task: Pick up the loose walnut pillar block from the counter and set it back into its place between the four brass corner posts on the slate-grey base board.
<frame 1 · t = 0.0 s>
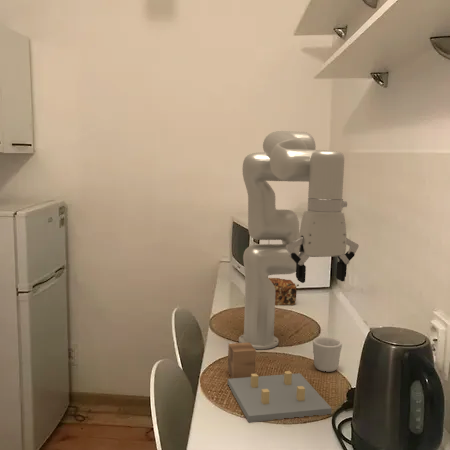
hand: (320, 280, 121), 31 cm above the breakfast bar, tool pointing down, fingers open, 9 cm apart
base board: (276, 398, 131), on the breakfast bar
bread: (271, 302, 216), on the breakfast bar
cup: (328, 367, 151), on the breakfast bar
walnut block: (241, 375, 144), on the breakfast bar
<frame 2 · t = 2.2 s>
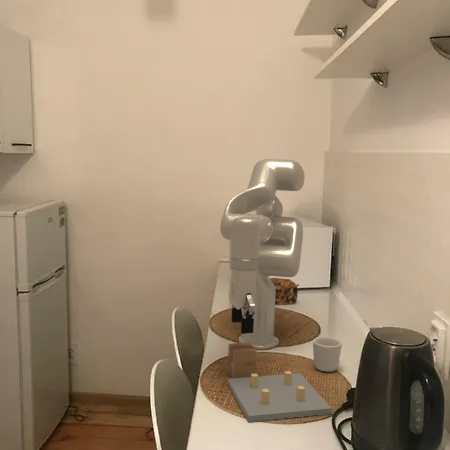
hand: (242, 327, 141), 14 cm above the breakfast bar, tool pointing down, fingers open, 9 cm apart
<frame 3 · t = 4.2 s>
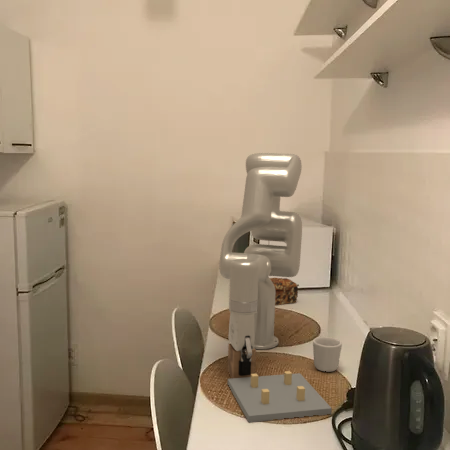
hand: (241, 369, 144), 2 cm above the breakfast bar, tool pointing down, fingers closed on walnut block, 6 cm apart
walnut block: (241, 375, 144), on the breakfast bar, touching gripper
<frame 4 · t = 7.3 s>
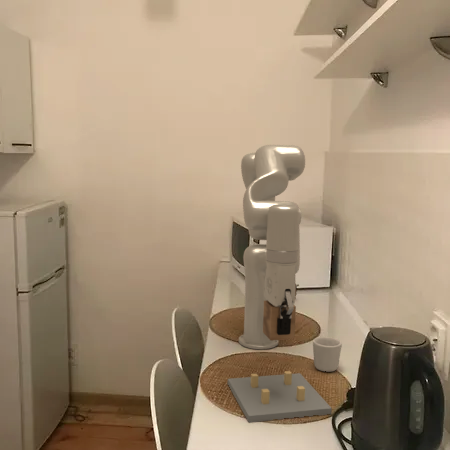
hand: (278, 329, 128), 18 cm above the breakfast bar, tool pointing down, fingers closed on walnut block, 6 cm apart
walnut block: (278, 335, 129), point 16 cm above the breakfast bar, touching gripper
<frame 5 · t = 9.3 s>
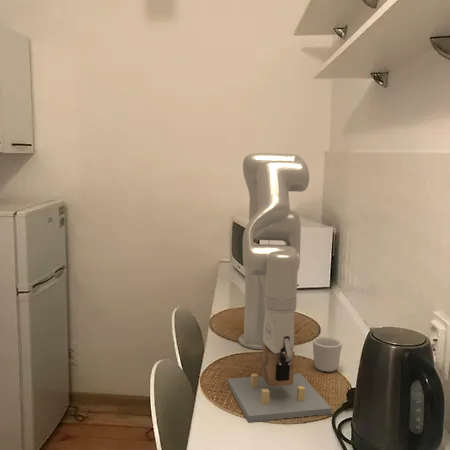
hand: (277, 373, 130), 6 cm above the breakfast bar, tool pointing down, fingers closed on walnut block, 6 cm apart
walnut block: (277, 380, 130), point 5 cm above the breakfast bar, touching gripper
when the fingers open (4 cm above the breakfast bar, at t = 10.7 s): walnut block stays where it is, resting on base board.
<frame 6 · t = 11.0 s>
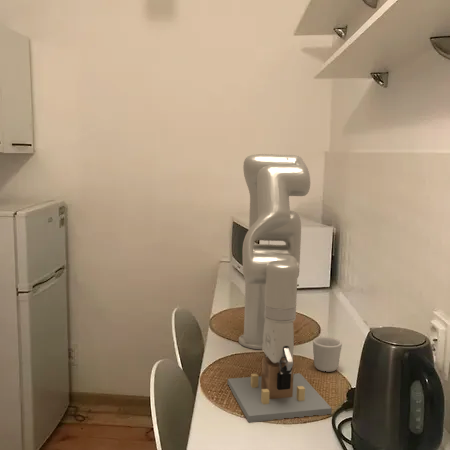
hand: (277, 380, 130), 5 cm above the breakfast bar, tool pointing down, fingers open, 8 cm apart
walnut block: (276, 392, 131), point 1 cm above the breakfast bar, touching base board
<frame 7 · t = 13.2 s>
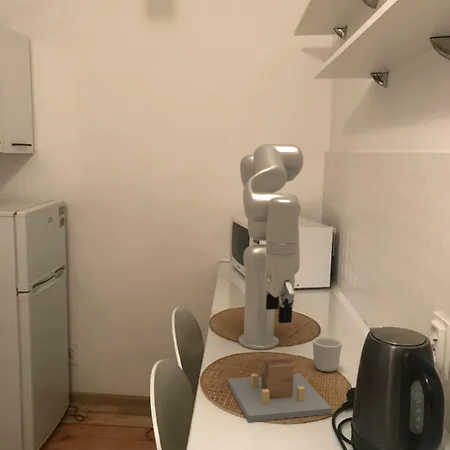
hand: (278, 315, 132), 20 cm above the breakfast bar, tool pointing down, fingers open, 9 cm apart
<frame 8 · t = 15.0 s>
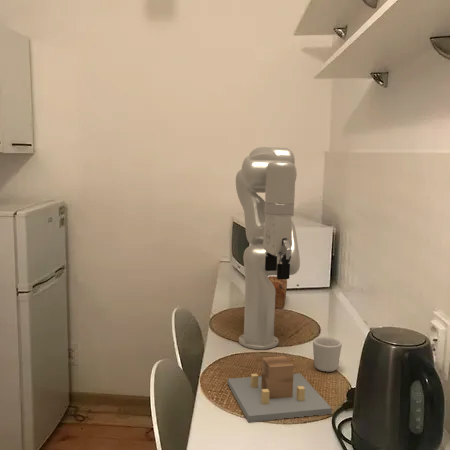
hand: (276, 274, 139), 28 cm above the breakfast bar, tool pointing down, fingers open, 9 cm apart
at the end: walnut block 0.1 cm off-centre on the base board, point 1.5 cm above the base board's base; walnut block tilted 0°; the gripper is holding nothing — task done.
